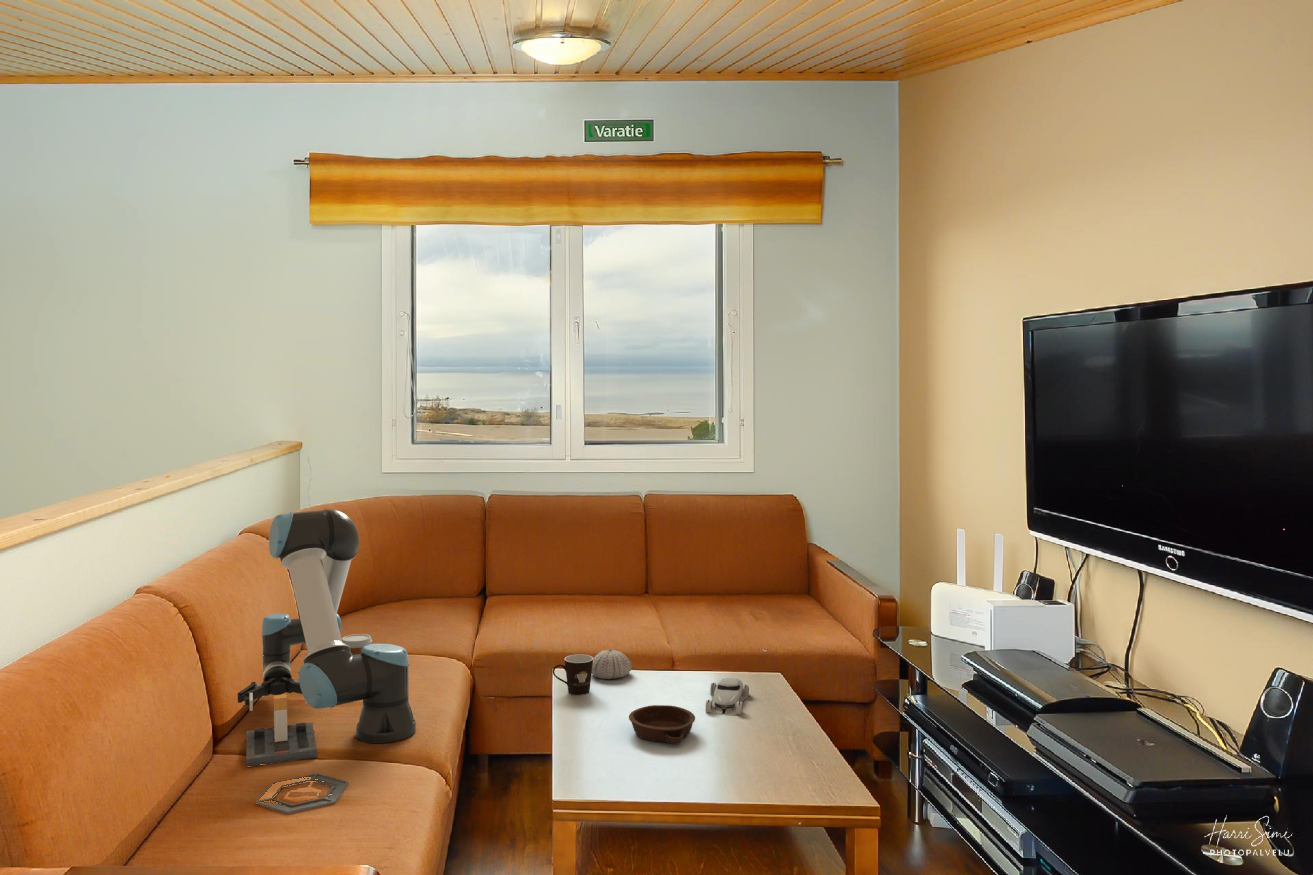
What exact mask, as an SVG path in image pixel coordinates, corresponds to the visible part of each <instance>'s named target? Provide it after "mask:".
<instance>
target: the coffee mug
mask: <svg viewBox="0 0 1313 875" xmlns="http://www.w3.org/2000/svg"><path fill="white" fill-rule="evenodd" d="M593 658H594V657H593V656H591V655H589V654H572V655H567V656H566V657H564V659H563V660H564V664H562V663H561V664H555V666H554V667H553V668H552V674H553V676H554V677H555V678H556V679H557V680H559V681H561V682H563V683H564V684H566V686H567V692H568V694H570V693H571V694H570V695H572V696H573V695H574V696H582V694H584V695H587V694H589V693H590V692H591V690H590V689H591V681H592V675H593V674H592V665H593ZM559 667H562V668H563V670H564V671H565V675H566V676H565V677H566V680H564V679H563V678H560V677H559V676H557V675H556V673H555V671H556V669H557V668H559ZM589 691H590V692H589ZM586 693H587V694H586Z"/></svg>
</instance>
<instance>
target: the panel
mask: <svg viewBox="0 0 1313 875" xmlns="http://www.w3.org/2000/svg"><path fill="white" fill-rule="evenodd" d="M287 736H288V740H287V741H280V742H275V737H274V726H273V727H267V728H265V727H259V728H254V729H251V730H250V729H249V730H246V750H245V751H246V755H245V756H246V762H245V764H246V767H247V766H254V767H258V765H260V764H268V765H272V764H271V763H275V764H279V763H278V762H282V763H288V762H294V761H302V760H309V759H316V758H318V749H317V741H316V736H315V731H314V725H313V722H299V723H298V722H297V723H295V724H290V725H287Z"/></svg>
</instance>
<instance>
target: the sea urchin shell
mask: <svg viewBox="0 0 1313 875" xmlns="http://www.w3.org/2000/svg"><path fill="white" fill-rule="evenodd" d="M632 669H633V666H632V662H631V660H630V659H629V657H627V656H626V655H625V654H624V653H623V652H621V651H619V650H615V649H604V650H601V651H600V652H598V653H597V654H596V655H594V657H593V665H592V674H591V675H592V676H594V678H597V679H603V680H611V679H618V678H623V677H625V676H628V675H629V673H630V672H631V671H632Z"/></svg>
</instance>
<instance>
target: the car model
mask: <svg viewBox="0 0 1313 875" xmlns="http://www.w3.org/2000/svg"><path fill="white" fill-rule="evenodd" d="M709 690H710V692H709V695H710V696H711V699H706V700H705V713H706V714H710V715H711V714H712V715H716V716H721V715H725V716H729V717H730V716H733V717H734V716H741V715H743V709H744V708H743V707H744V706H743V703H744V701H745V700H746V699H747V698H749V692H750V685H748V684H743V680H741V679H738V678H734V677H726V678H722V679H721V680H719V681H718V683H716V682H711V683H710V689H709Z"/></svg>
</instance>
